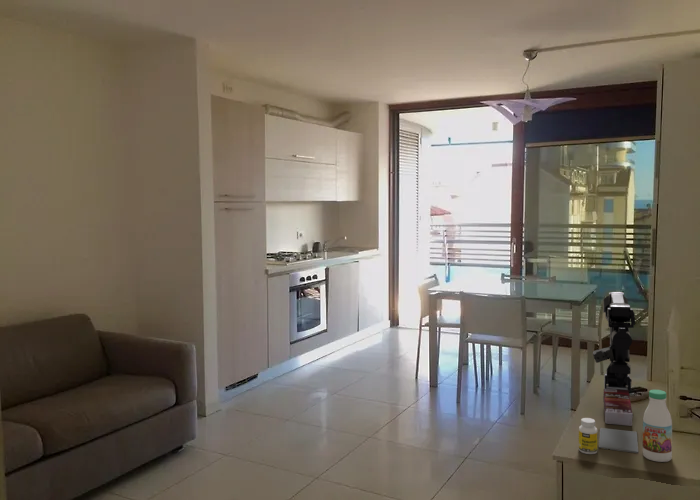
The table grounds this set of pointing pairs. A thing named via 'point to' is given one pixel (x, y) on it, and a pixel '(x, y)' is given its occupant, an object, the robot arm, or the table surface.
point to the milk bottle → (657, 428)
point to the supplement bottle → (588, 436)
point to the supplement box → (617, 407)
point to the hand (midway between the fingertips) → (619, 386)
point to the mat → (618, 440)
